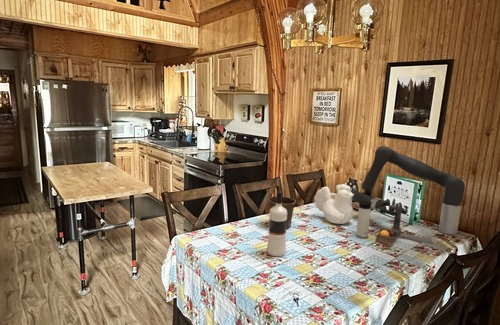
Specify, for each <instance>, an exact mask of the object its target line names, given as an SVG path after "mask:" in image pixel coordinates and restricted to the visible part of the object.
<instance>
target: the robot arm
mask: <svg viewBox="0 0 500 325" xmlns="http://www.w3.org/2000/svg"><path fill="white" fill-rule="evenodd" d="M387 163H389V164H390V163H391V164H393V165H395V166H397V167H398V168H400V169H401V170H402V171H405V172H406V173H408V174H410V175H412V176H414V177H416V178H419V179H421V180H422V179H423V180H425V181H430V182H433V183H435V184H437V185H440V186H441V187H443V188H445V190H444V196H443V198H442V203H441V210H440V218H439V219H440V220H439V225H438V231H439V232H440V233H442V234H444V235H448V236H449V235H450V236H456V235H457V233H458V229H459V228H458V227H459V222H460V216H461V208H462V203H463V200H464V195H465V191H466V190H465V189H466V184H465V182H464V181H463V180H462V179H461V177H458V176H456V175H453V174H449V173H446V172H443V171H441V170H438V169H436V168H435V167H433V166H431V165H429V164H427V163H425V162H422V161H420V160H418V159H416V158H413V157H410V156H407V155H404V154H402V153H400V152H398V151H395V150H394V149H392V148H390V147H389V146H386V145H381V146H378V147H377V148H376V149H375V152H374V158H373V161H372V165H371V167H370V168H369V171H367V173H366V175H365V177H364V179H363V182H362V184H361V190H363V191H364V192H362V191H356V192H355V193H353V194H354V195H353V197H352V199H353V200H354V201H355V203H357V204H359V203H360V202H362V201H369V202H372V204H371V209H373V210H374V211H376V212H379V213H380V214H382V215H390V216H393V217H394V216H395V207H396V205H391V204H390V202H389V201H387V200H384V199H383V198H379V197H376V196H373V195H372V193H373V190H374V188H375V185H376V183H377V181H378V178H379V176H380V173H381V172H382V170H383V168H384V167H385V166H386V164H387ZM407 214H408V211H407V210H405V208H404V207H402V210H401V215H405V216H407Z"/></svg>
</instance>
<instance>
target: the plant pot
mask: <svg viewBox="0 0 500 325" xmlns="http://www.w3.org/2000/svg"><path fill="white" fill-rule="evenodd" d="M276 197H277V195H276V196H269V197H268V199H267V200H268V207H269V210H270V209H271V208H272V207H274V206H276ZM296 203H297V200H295V199H294V198H292V197H288V196H283V195H282V207H284V208H285V209H286V210H287V220H286V230H288V229H291V227H292V226H291V225H292V220H293V214H294V209H295V205H296Z"/></svg>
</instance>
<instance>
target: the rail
mask: <svg viewBox="0 0 500 325" xmlns="http://www.w3.org/2000/svg"><path fill="white" fill-rule="evenodd" d="M394 238H397V239H403V240H408V241H414V242H419V243H422V244H423V243H425V244H429V245H433V239H432V238H430V237H425V236H419V235H413V234H408V233H402V232H401V235H394Z"/></svg>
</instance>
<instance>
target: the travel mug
mask: <svg viewBox="0 0 500 325" xmlns="http://www.w3.org/2000/svg"><path fill="white" fill-rule="evenodd" d="M371 204H372V202H369V201H362V202H360V203H358V209H357V210H358V211H357V223H356V234H355V235H356V237H358V238H359V239H368V237H369V229H370V220H371V211H372V208H371Z"/></svg>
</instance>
